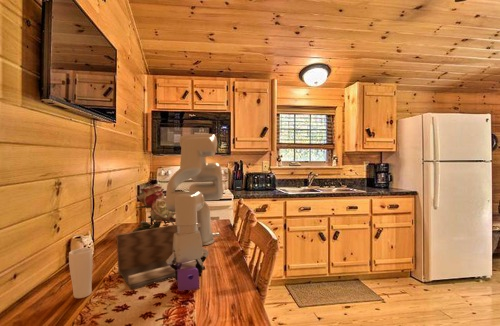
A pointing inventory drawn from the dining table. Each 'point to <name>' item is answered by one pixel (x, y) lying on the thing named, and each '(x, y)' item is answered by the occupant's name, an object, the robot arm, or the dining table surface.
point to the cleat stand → (147, 256)
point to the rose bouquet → (155, 207)
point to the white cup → (81, 271)
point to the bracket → (188, 279)
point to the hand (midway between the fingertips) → (189, 278)
